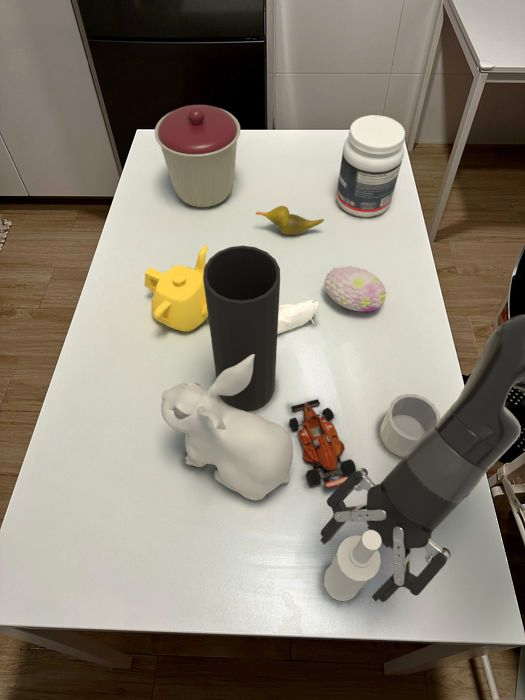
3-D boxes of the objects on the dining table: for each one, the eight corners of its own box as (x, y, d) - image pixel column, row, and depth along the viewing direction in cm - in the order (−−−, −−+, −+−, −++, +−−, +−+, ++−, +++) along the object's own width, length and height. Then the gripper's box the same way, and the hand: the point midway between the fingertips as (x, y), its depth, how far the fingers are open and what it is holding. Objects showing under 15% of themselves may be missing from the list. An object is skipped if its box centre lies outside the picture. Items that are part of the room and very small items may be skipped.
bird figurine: (299, 309, 104) (256, 319, 100) (312, 290, 99) (267, 300, 94) (310, 329, 103) (267, 341, 98) (324, 311, 97) (279, 322, 92)
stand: (438, 436, 87) (450, 418, 82) (407, 467, 84) (418, 450, 79) (400, 404, 91) (410, 385, 85) (369, 433, 88) (377, 414, 82)
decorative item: (325, 259, 104) (357, 250, 95) (364, 283, 109) (398, 277, 100) (311, 300, 102) (342, 294, 93) (352, 322, 107) (385, 319, 98)
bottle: (319, 567, 76) (341, 519, 55) (353, 560, 76) (387, 510, 56) (327, 605, 73) (354, 570, 52) (363, 598, 73) (403, 560, 53)
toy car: (325, 398, 91) (327, 386, 88) (359, 486, 83) (363, 476, 79) (283, 409, 90) (284, 397, 87) (313, 498, 81) (315, 489, 78)
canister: (166, 170, 127) (151, 86, 109) (239, 166, 128) (236, 82, 110) (166, 221, 117) (149, 137, 99) (245, 215, 118) (242, 132, 100)
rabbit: (191, 409, 90) (171, 324, 69) (301, 453, 86) (315, 375, 65) (159, 467, 84) (126, 392, 63) (275, 517, 80) (281, 454, 59)
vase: (231, 355, 96) (221, 237, 72) (282, 371, 95) (290, 256, 70) (209, 401, 91) (190, 290, 66) (263, 419, 89) (264, 312, 64)
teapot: (226, 329, 100) (224, 296, 92) (158, 344, 98) (149, 312, 90) (210, 277, 107) (206, 243, 99) (146, 291, 105) (137, 257, 97)
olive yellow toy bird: (256, 223, 117) (256, 200, 111) (322, 227, 116) (325, 204, 111) (254, 236, 114) (254, 213, 109) (322, 240, 114) (325, 217, 108)
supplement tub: (334, 182, 125) (344, 111, 109) (387, 184, 124) (405, 113, 109) (336, 219, 117) (347, 148, 102) (392, 221, 117) (412, 150, 102)
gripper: (375, 435, 57) (294, 532, 62) (482, 534, 51) (383, 632, 57) (396, 427, 64) (321, 515, 69) (493, 514, 58) (403, 604, 63)
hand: (349, 568), depth 63 cm, fingers open, 8 cm apart
